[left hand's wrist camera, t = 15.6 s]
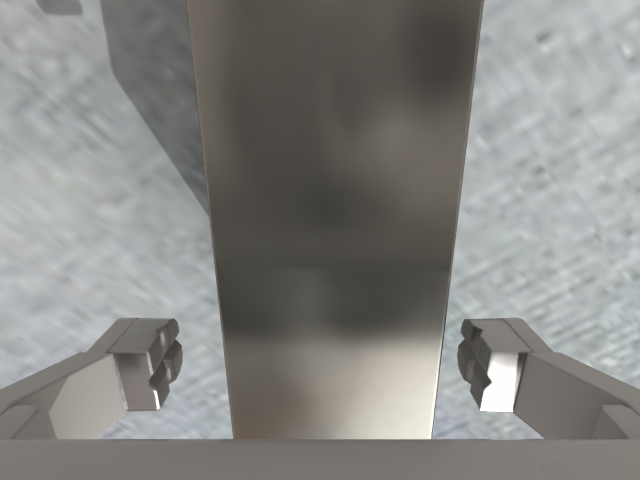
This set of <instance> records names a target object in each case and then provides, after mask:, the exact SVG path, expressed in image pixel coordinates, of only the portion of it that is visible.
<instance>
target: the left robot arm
mask: <svg viewBox="0 0 640 480" xmlns="http://www.w3.org/2000/svg"><path fill="white" fill-rule="evenodd" d="M178 333H179V328H178V323H177V321H176V320H175V319H165V318H121V319H118V320H117V321H116V322H115V323H114V324H113V325H112V326H111V327H110V328H109V329H108V330H107V331H106V332H105V333H104V334H103V335H102V336H101V337H100V338H99V339H98V340H97V342H96V343H95V344H94V345H93V346H92V347H91V348H90V349H89V350H88V351H87V352H86V353H78V354H76V355H74V356H72V357H70V358H67V359H65V360H63V361H61V362H59V363H57V364H54V365H52V366H50V367H48V368H46V369H44V370H42V371H39V372H37V373H35V374H33V375H31V376H29V377H26V378H24V379H22V380H20V381H18V382H16V383H14V384H11V385H9V386H7V387H5V388H3V389H1V390H0V480H640V390H639V389H637V388H635V387H633V386H631V385H628V384H626V383H624V382H622V381H620V380H618V379H616V378H613V377H611V376H609V375H607V374H605V373H603V372H601V371H598V370H596V369H594V368H592V367H590V366H588V365H585V364H583V363H581V362H579V361H577V360H575V359H573V358H570V357H568V356H566V355H564V354H562V353H554V352H553V351H552V350H551V349H550V348H549V347H548V346H547V345H546V344H545V343H544V341H543V340H542V339H541V338H540V337H539V336H538V335H537V334H536V333H535V332H534V331H533V330H532V329H531V328H530V327H529V326H528V325H527V324H526V323H525V322H524V321H523V320H522V319H520V318H496V319H464V321H463V323H462V327H461V333H462V335H463V337H464V338H465V339H464V340H463V341H462V342H461V343H460V344H459V346H458V354H457V357H458V366H459V369H460V373H461V375H462V377H463V379H464V380H466V381H467V382H468V383H470V384H471V389H470V392H471V394H472V396H473V398H474V400H475V401H476V403H477V405H478V407H479V409H480V411H514V414H515V415H517V416H518V417H519V418H520V419H522V420H523V421H524V422H525V423H526V424H528V425H529V426H530V427H531V428H533V429H534V430H535V431H536V432H538V433H539V434H540V435H541V436H543V437H544V438H545V439H95V438H96V437H98V436H99V435H100V434H101V433H102V432H104V431H105V430H106V429H107V428H109V427H110V426H111V425H112V424H114V423H115V422H116V421H117V420H119V419H120V418H121V417H122V416H124V415H125V414H126V411H160V409H161V407H162V405H163V403H164V401H165V400H166V398H167V396H168V394H169V392H170V389H169V384H170V383H172V382H173V381H174V380H176V379H177V377H178V375H179V373H180V369H181V365H182V354H183V353H182V346H181V344H180V343H179V342H178V341H177V340H176V339H175V338H176V337H177V335H178Z"/></svg>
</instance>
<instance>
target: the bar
mask: <svg viewBox="0 0 640 480" xmlns="http://www.w3.org/2000/svg"><path fill="white" fill-rule="evenodd" d="M483 4H484V0H186V5H187V14H188V23H189V32H190V42H191V51H192V60H193V70H194V79H195V88H196V97H197V107H198V116H199V125H200V134H201V144H202V153H203V162H204V172H205V181H206V190H207V199H208V209H209V218H210V227H211V236H212V246H213V255H214V264H215V274H216V283H217V292H218V301H219V311H220V320H221V329H222V338H223V348H224V357H225V366H226V376H227V385H228V394H229V403H230V413H231V422H232V431H233V439H432V431H433V423H434V414H435V406H436V397H437V389H438V381H439V372H440V364H441V356H442V347H443V339H444V331H445V322H446V314H447V305H448V297H449V289H450V280H451V272H452V264H453V255H454V247H455V239H456V230H457V222H458V213H459V205H460V197H461V188H462V180H463V172H464V163H465V155H466V147H467V138H468V130H469V121H470V113H471V105H472V96H473V88H474V80H475V71H476V63H477V55H478V46H479V38H480V29H481V21H482V13H483Z"/></svg>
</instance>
